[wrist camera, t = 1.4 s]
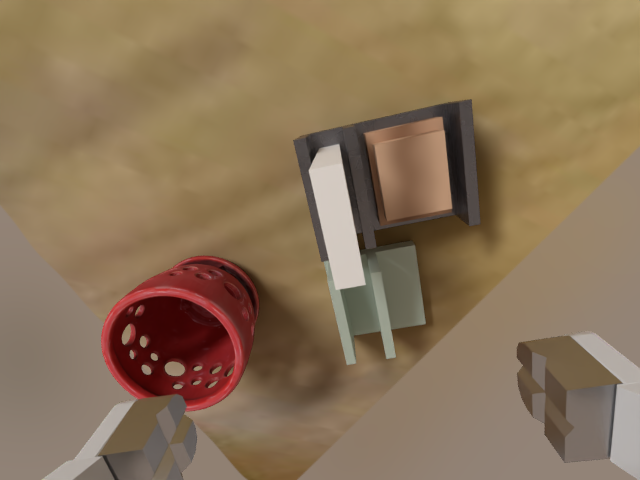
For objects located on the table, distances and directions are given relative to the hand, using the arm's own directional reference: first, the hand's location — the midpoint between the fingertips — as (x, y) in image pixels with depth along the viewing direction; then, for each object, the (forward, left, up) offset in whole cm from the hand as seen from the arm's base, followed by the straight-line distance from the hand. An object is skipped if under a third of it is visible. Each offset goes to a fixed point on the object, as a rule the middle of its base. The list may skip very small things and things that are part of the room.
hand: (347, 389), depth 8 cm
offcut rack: (-5, 0, -30) cm, 31 cm away
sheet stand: (-2, +13, -30) cm, 33 cm away
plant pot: (+17, +10, -31) cm, 37 cm away
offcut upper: (-7, 0, -27) cm, 28 cm away
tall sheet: (0, 0, -29) cm, 29 cm away
